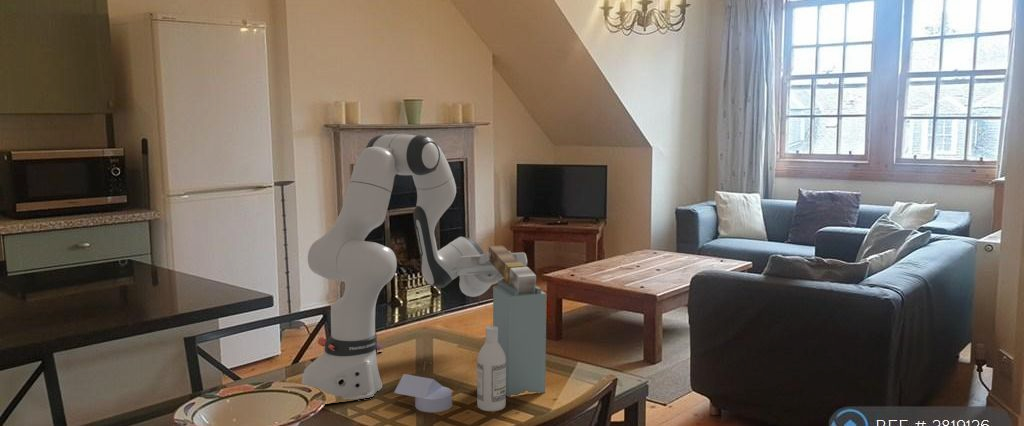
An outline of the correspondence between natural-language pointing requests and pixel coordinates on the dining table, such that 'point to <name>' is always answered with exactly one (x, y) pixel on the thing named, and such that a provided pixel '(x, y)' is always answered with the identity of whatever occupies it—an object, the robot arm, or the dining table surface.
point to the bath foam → (491, 373)
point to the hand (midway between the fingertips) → (499, 254)
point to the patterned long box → (513, 270)
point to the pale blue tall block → (521, 337)
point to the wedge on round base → (425, 393)
